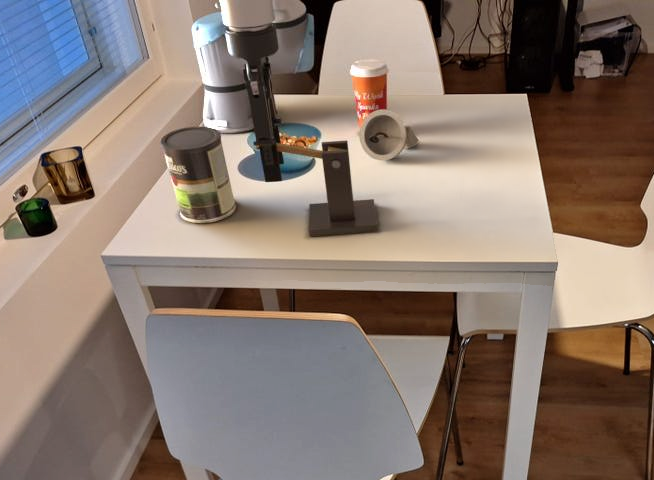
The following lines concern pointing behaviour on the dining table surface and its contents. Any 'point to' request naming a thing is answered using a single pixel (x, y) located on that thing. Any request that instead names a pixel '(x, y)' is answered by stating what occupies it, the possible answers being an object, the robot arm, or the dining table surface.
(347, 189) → the stand
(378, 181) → the dining table surface
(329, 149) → the switch lever
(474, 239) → the dining table surface
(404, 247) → the dining table surface
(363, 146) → the light fixture
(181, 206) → the coffee can
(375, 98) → the coffee cup
